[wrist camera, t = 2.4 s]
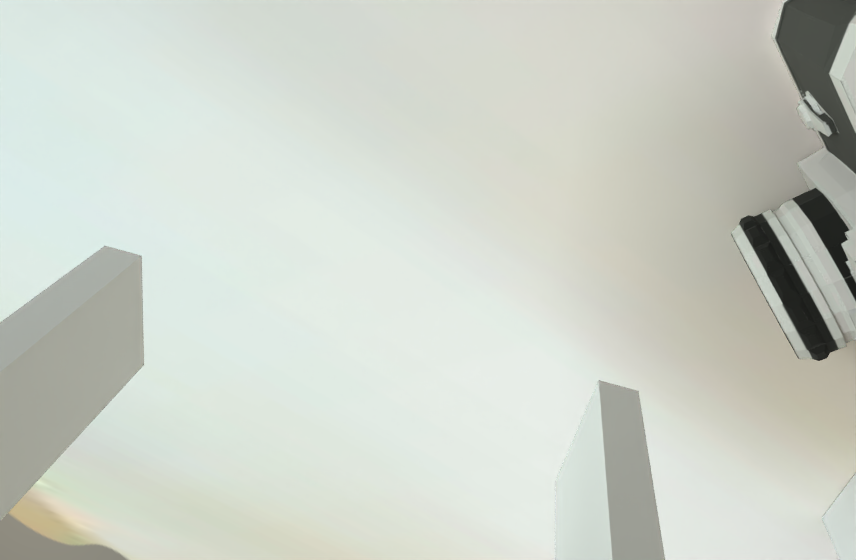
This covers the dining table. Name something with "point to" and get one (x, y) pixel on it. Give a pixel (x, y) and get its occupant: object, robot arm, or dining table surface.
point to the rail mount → (843, 522)
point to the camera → (814, 187)
